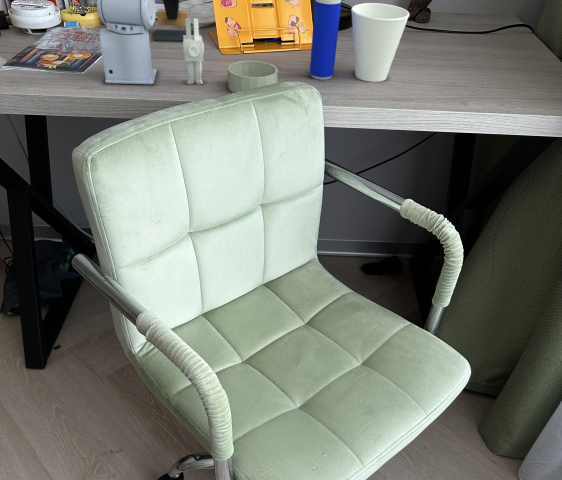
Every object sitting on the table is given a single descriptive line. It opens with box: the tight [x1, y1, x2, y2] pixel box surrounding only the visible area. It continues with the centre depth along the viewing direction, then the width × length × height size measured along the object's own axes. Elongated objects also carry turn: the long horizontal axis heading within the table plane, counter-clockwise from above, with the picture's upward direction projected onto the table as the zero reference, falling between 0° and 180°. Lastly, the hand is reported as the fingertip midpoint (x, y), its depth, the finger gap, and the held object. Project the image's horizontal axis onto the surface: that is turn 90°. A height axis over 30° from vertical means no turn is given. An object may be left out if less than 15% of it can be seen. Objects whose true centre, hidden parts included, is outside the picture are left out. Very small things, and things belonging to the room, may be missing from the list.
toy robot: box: [182, 17, 205, 85], centre depth 113 cm, size 4×8×12 cm, turn 9°
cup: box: [350, 2, 410, 83], centre depth 121 cm, size 12×12×12 cm
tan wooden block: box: [156, 8, 190, 27], centre depth 135 cm, size 7×3×3 cm, turn 93°
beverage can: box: [309, 0, 342, 81], centre depth 118 cm, size 5×5×15 cm
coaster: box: [153, 28, 194, 43], centre depth 138 cm, size 9×8×1 cm
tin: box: [227, 60, 279, 93], centre depth 116 cm, size 10×10×4 cm
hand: (172, 17), depth 135 cm, fingers closed on tan wooden block, 2 cm apart
